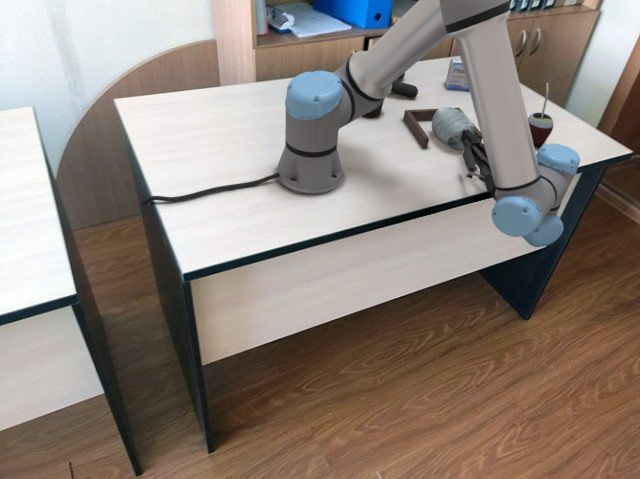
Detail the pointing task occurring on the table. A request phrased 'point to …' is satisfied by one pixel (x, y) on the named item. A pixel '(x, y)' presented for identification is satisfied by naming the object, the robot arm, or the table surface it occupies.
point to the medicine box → (456, 76)
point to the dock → (425, 115)
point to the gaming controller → (404, 88)
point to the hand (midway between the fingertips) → (464, 134)
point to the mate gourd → (540, 125)
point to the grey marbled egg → (451, 127)
